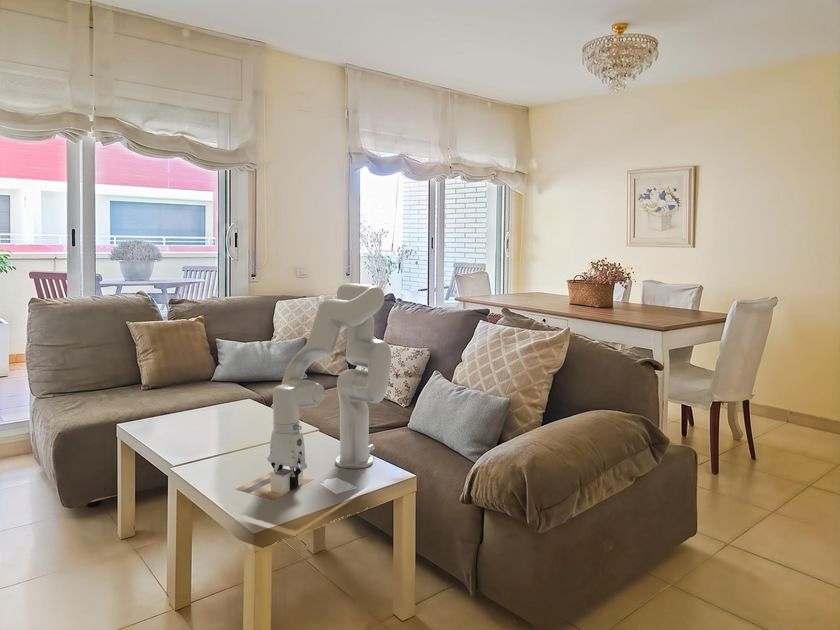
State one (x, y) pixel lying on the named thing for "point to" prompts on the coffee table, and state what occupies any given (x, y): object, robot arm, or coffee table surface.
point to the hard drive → (337, 485)
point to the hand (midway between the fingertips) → (287, 485)
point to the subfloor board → (266, 487)
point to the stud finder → (283, 480)
